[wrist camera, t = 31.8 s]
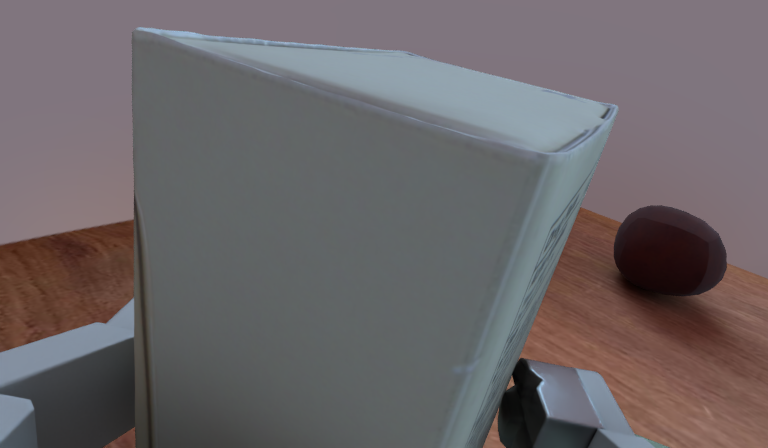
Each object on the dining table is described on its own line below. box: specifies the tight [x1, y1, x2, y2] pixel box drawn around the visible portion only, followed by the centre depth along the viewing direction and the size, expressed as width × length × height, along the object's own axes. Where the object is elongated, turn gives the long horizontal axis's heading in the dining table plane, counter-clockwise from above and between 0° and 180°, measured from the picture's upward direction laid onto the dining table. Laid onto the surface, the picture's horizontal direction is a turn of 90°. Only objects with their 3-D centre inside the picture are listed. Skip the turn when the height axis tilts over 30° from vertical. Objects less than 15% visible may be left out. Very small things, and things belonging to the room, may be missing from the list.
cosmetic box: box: [132, 27, 618, 448], centre depth 9 cm, size 6×4×12 cm
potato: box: [614, 206, 727, 296], centre depth 34 cm, size 7×8×6 cm
